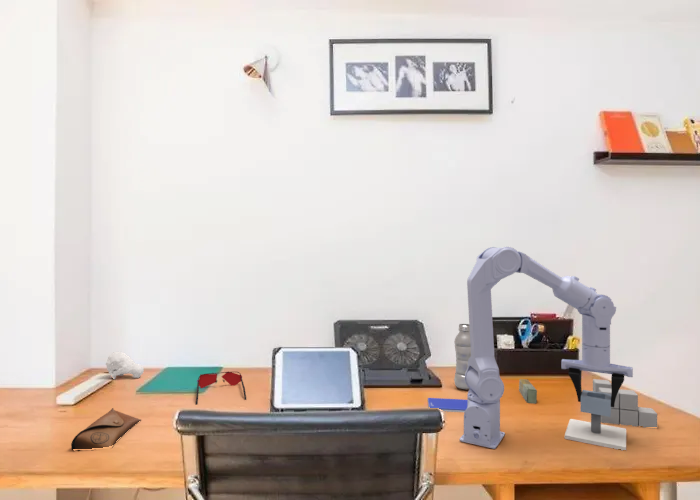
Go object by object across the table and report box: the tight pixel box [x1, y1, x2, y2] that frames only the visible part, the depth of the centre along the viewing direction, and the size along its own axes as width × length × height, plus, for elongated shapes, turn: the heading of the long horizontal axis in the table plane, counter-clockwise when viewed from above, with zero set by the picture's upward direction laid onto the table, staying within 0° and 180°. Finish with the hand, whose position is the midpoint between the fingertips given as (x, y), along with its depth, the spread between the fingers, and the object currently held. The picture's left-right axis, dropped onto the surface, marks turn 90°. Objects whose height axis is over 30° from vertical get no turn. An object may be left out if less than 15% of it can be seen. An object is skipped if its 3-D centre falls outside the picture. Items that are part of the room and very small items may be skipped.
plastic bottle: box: [453, 323, 471, 390], centre depth 140 cm, size 6×7×20 cm
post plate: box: [564, 413, 627, 451], centre depth 104 cm, size 12×12×5 cm
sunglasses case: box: [70, 407, 142, 451], centre depth 105 cm, size 18×7×7 cm, turn 5°
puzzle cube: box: [592, 378, 658, 428], centre depth 116 cm, size 12×12×8 cm
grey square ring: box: [580, 389, 611, 417], centre depth 105 cm, size 6×6×4 cm
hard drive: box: [427, 397, 467, 413], centre depth 124 cm, size 2×8×12 cm
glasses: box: [195, 371, 247, 405], centre depth 135 cm, size 14×16×5 cm
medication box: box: [518, 378, 538, 405], centre depth 132 cm, size 12×3×4 cm, turn 170°
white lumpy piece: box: [105, 351, 145, 380], centre depth 152 cm, size 6×8×12 cm
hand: (596, 403), depth 104 cm, fingers closed on grey square ring, 6 cm apart
